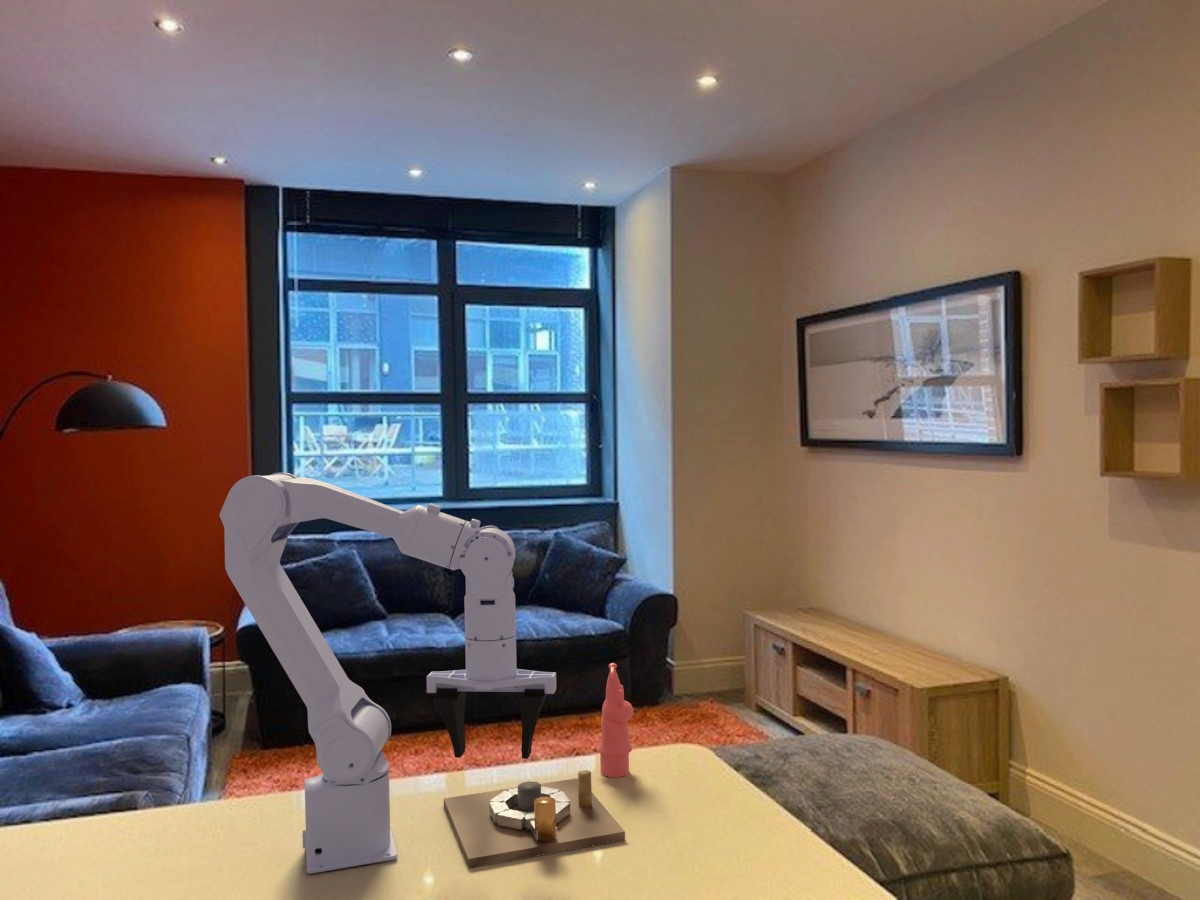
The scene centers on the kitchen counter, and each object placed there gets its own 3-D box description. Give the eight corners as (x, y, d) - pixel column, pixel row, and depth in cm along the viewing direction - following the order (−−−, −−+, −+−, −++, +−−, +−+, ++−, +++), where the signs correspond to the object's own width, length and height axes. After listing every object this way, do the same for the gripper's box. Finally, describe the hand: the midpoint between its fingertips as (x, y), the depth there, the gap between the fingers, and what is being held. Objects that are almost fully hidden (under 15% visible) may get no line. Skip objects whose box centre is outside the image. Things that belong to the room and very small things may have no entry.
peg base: (468, 868, 94) (467, 822, 94) (443, 806, 110) (442, 766, 110) (625, 840, 100) (624, 796, 100) (579, 785, 116) (579, 747, 116)
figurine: (634, 779, 118) (632, 668, 117) (596, 779, 118) (594, 669, 117) (633, 765, 123) (632, 658, 122) (597, 765, 123) (595, 659, 123)
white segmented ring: (484, 802, 108) (483, 770, 108) (555, 791, 111) (555, 760, 111) (507, 847, 96) (507, 811, 96) (587, 834, 99) (586, 798, 99)
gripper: (417, 643, 95) (420, 767, 95) (548, 643, 94) (551, 769, 94) (435, 629, 102) (438, 744, 103) (558, 629, 101) (560, 746, 101)
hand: (493, 755), depth 99 cm, fingers open, 7 cm apart
